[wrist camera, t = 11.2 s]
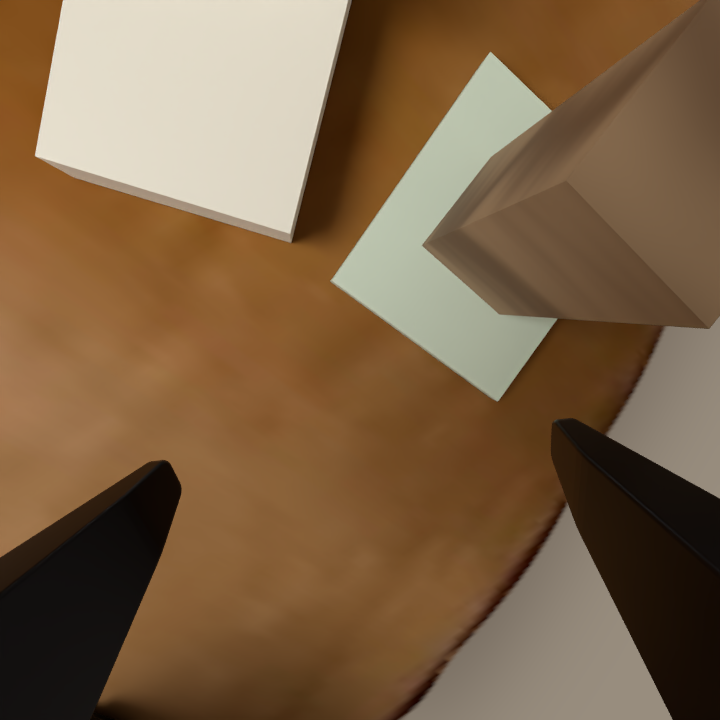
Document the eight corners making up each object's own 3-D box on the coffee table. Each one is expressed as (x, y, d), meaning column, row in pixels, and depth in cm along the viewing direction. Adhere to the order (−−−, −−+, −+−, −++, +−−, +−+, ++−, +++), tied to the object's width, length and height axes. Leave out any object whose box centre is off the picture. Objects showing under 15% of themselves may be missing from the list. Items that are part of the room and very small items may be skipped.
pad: (490, 398, 21) (497, 401, 20) (330, 281, 19) (331, 280, 18) (629, 203, 20) (643, 199, 19) (482, 62, 18) (490, 51, 17)
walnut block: (499, 314, 19) (709, 328, 9) (421, 245, 18) (566, 180, 8) (565, 231, 19) (846, 157, 9) (490, 156, 18) (719, -14, 8)
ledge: (291, 242, 18) (284, 188, 9) (74, 177, 16) (-187, 34, 8) (355, -16, 17) (417, -359, 8) (129, -114, 15) (-100, -676, 6)
